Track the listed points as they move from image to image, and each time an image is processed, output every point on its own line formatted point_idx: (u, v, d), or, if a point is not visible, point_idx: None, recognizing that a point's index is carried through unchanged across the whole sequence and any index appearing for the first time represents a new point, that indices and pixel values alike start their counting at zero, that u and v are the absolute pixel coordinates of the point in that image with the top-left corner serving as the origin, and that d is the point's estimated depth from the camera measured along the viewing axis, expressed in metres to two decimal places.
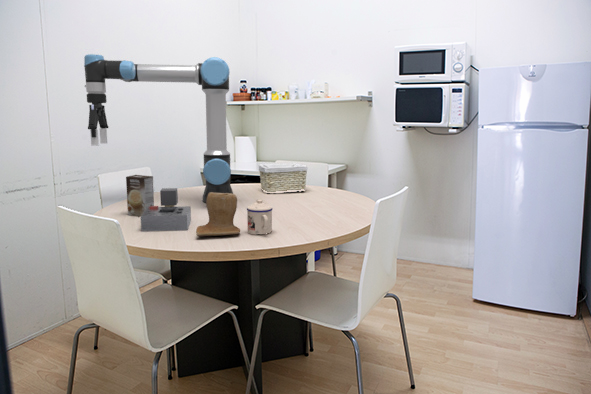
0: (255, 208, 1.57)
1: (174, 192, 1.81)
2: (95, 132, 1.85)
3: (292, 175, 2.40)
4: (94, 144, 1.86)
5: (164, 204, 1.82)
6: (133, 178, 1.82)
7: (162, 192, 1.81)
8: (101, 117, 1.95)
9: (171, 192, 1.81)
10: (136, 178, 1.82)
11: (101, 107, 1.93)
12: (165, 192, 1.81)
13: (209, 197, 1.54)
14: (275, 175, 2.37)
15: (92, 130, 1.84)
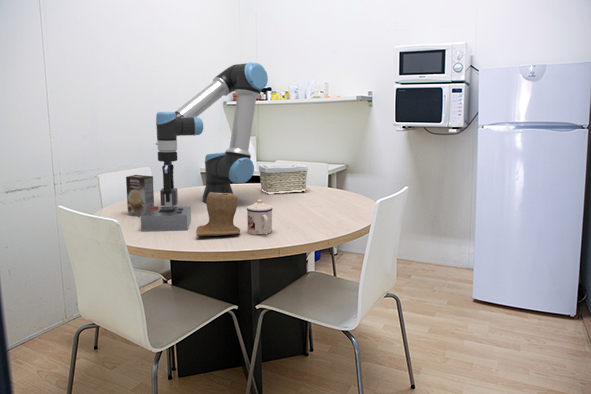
0: (255, 208, 1.57)
1: (174, 192, 1.81)
2: (169, 196, 1.80)
3: (292, 175, 2.39)
4: None
5: (164, 204, 1.82)
6: (133, 178, 1.82)
7: None
8: (170, 176, 1.85)
9: (171, 192, 1.81)
10: (136, 178, 1.82)
11: (171, 164, 1.84)
12: None
13: (209, 197, 1.54)
14: (275, 175, 2.37)
15: (166, 195, 1.79)
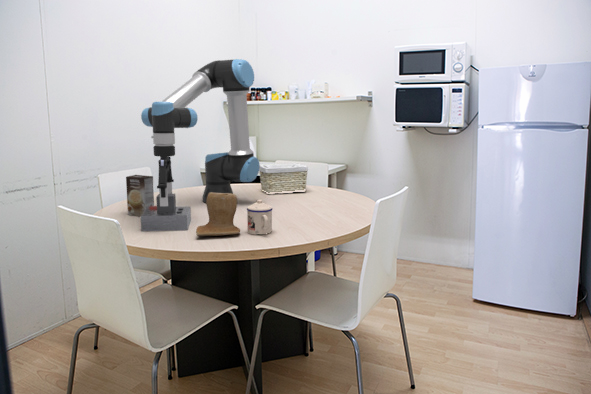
0: (255, 208, 1.57)
1: (172, 198, 1.66)
2: (165, 191, 1.60)
3: (293, 175, 2.39)
4: (163, 205, 1.62)
5: (161, 211, 1.66)
6: (133, 178, 1.82)
7: (158, 198, 1.65)
8: None
9: (168, 198, 1.66)
10: (136, 178, 1.82)
11: (168, 160, 1.68)
12: None
13: (209, 197, 1.54)
14: (276, 175, 2.36)
15: (162, 189, 1.60)
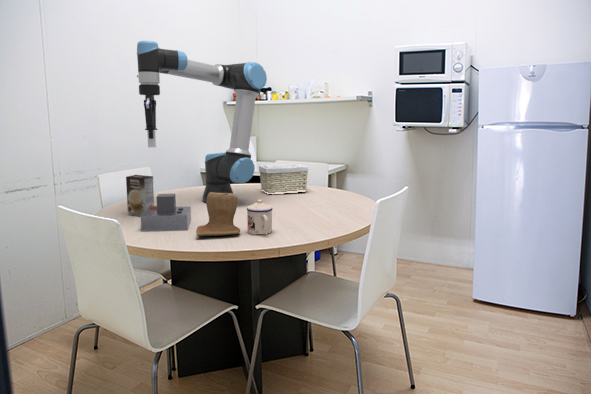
0: (255, 208, 1.57)
1: (172, 198, 1.66)
2: (152, 133, 1.73)
3: (293, 176, 2.38)
4: (151, 146, 1.74)
5: (161, 211, 1.66)
6: (133, 178, 1.82)
7: (158, 198, 1.65)
8: (152, 112, 1.73)
9: (168, 198, 1.66)
10: (136, 178, 1.82)
11: (153, 98, 1.74)
12: (162, 198, 1.65)
13: (209, 197, 1.54)
14: (276, 176, 2.35)
15: (149, 131, 1.72)
